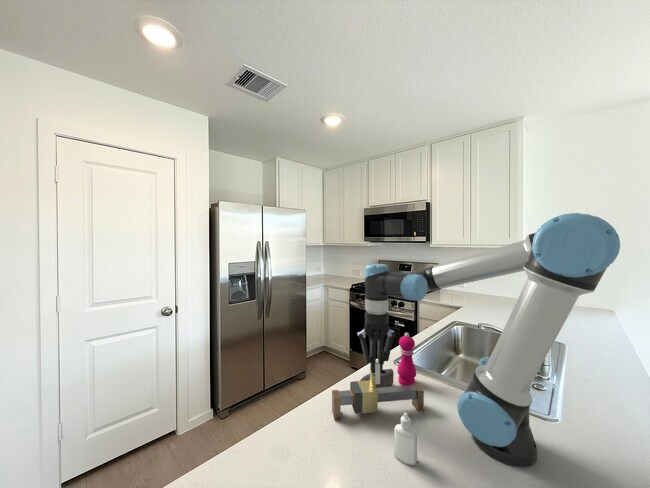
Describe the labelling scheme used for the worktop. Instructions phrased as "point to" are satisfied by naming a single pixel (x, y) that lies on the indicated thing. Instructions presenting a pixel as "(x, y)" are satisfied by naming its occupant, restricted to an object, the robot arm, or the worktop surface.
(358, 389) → the ring
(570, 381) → the worktop surface
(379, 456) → the worktop surface
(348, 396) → the bar clamp
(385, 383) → the perforated stone tool
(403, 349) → the pepper mill
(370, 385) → the sleeve
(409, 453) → the eye dropper bottle
